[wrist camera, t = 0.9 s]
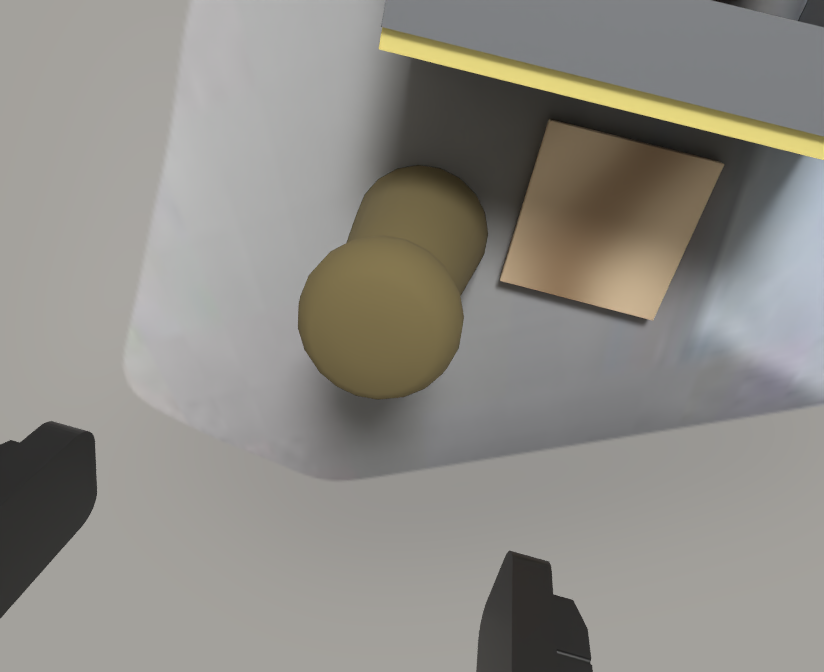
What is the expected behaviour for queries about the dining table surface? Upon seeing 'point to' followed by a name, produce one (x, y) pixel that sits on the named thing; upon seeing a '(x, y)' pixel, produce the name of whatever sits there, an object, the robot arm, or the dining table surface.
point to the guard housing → (638, 58)
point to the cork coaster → (607, 218)
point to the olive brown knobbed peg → (395, 285)
